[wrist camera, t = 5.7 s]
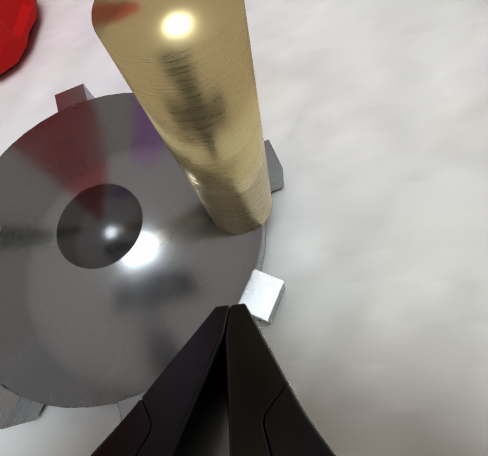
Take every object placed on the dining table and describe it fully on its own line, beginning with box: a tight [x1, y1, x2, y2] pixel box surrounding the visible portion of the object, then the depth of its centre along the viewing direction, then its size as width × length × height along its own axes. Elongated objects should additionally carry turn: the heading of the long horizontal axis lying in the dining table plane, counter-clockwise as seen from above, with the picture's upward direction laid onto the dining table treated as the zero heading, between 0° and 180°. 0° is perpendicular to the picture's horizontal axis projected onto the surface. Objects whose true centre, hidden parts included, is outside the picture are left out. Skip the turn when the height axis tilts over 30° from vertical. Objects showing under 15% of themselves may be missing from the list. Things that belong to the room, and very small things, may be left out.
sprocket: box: [0, 0, 285, 429], centre depth 13 cm, size 19×19×12 cm
